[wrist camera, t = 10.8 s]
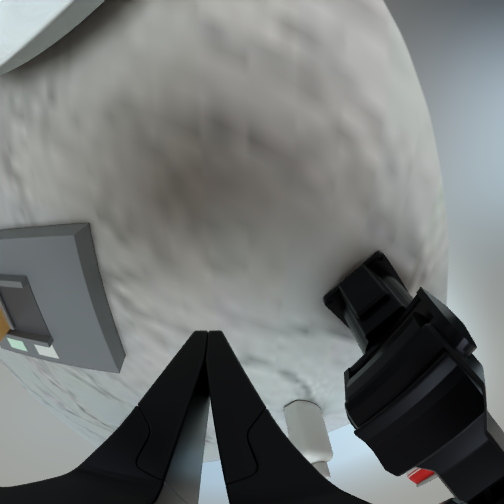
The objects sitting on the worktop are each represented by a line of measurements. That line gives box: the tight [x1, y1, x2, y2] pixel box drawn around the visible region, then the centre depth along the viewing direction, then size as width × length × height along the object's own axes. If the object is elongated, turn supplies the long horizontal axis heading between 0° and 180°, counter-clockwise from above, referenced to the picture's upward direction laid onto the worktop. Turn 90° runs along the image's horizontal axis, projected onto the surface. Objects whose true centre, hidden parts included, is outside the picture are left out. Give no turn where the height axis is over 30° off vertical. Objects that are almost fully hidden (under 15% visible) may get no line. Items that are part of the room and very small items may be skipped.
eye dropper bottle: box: [284, 401, 333, 480], centre depth 25 cm, size 4×6×12 cm
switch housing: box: [0, 223, 126, 373], centre depth 19 cm, size 18×14×4 cm
